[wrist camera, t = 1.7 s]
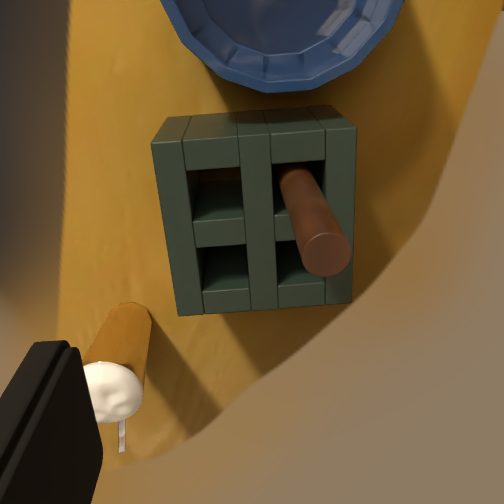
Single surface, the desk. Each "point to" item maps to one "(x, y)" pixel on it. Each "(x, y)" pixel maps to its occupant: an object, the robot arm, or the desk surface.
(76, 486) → the robot arm
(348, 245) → the stick
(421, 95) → the desk surface
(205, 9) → the bowl
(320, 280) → the holder
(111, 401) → the beer glass
